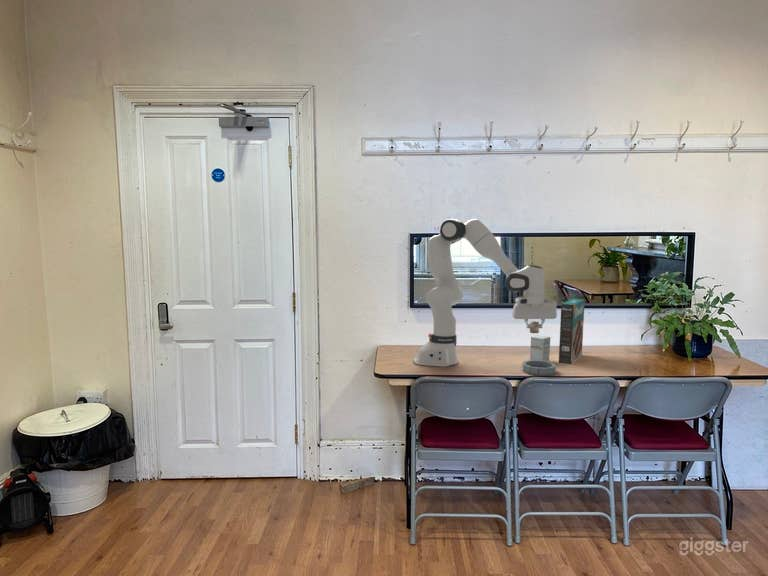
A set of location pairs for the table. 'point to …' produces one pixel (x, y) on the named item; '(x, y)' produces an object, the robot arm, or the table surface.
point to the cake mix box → (571, 330)
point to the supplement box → (540, 348)
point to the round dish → (539, 367)
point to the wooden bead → (534, 327)
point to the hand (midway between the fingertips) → (534, 328)
